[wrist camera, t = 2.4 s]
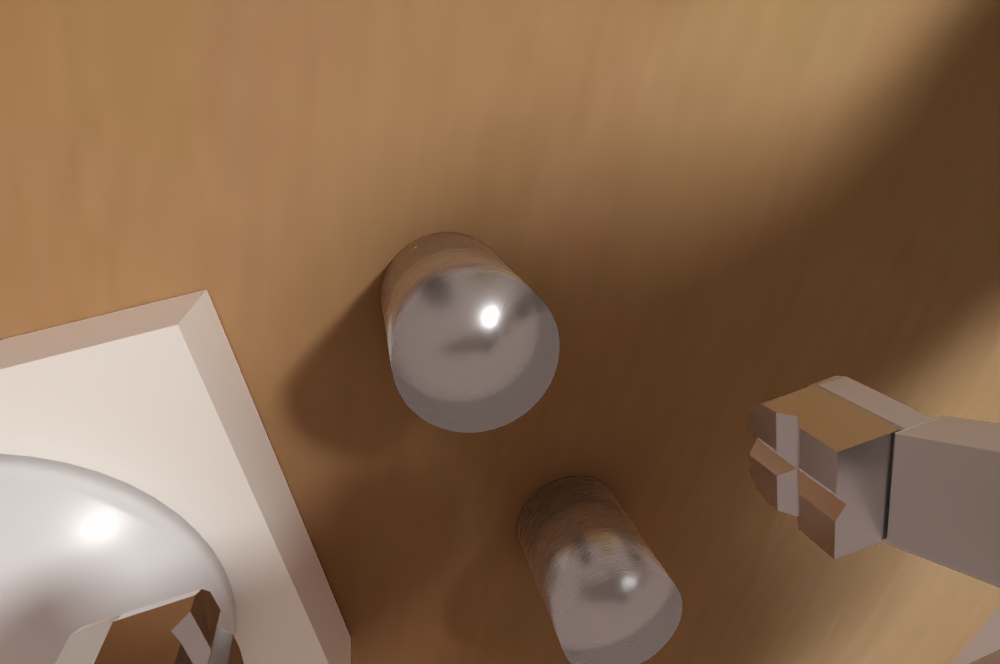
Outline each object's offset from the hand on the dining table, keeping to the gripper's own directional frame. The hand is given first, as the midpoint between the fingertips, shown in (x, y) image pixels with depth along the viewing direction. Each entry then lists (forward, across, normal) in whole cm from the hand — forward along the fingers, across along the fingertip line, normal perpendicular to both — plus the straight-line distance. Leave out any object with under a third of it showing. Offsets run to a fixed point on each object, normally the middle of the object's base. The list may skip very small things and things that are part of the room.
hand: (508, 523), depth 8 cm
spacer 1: (+10, -1, 0) cm, 11 cm away
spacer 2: (+10, -4, +10) cm, 15 cm away
